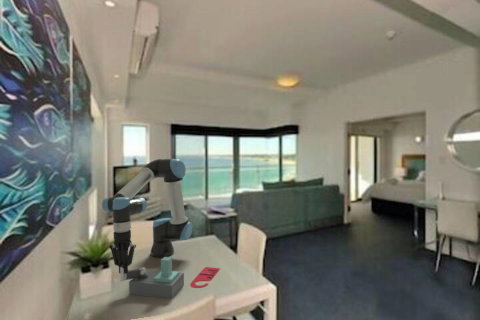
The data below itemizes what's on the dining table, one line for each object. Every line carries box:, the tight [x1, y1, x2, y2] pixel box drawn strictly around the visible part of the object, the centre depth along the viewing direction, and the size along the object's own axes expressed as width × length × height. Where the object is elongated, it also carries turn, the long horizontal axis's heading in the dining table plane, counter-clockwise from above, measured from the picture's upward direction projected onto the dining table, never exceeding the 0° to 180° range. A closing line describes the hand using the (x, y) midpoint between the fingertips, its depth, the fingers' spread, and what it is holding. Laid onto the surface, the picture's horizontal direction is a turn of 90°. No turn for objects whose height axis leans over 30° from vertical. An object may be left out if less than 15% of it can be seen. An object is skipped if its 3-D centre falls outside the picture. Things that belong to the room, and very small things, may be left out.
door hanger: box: [190, 266, 221, 289], centre depth 151 cm, size 9×1×25 cm
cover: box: [154, 256, 180, 283], centre depth 137 cm, size 9×9×10 cm
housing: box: [128, 269, 185, 299], centre depth 138 cm, size 14×22×6 cm, turn 79°
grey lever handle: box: [125, 266, 147, 281], centre depth 137 cm, size 12×3×4 cm, turn 114°
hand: (123, 279), depth 132 cm, fingers closed
